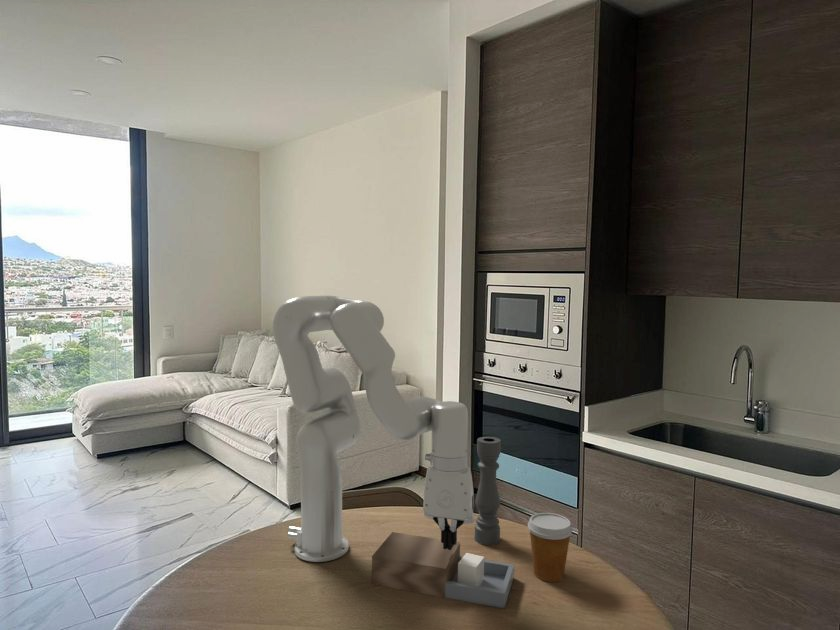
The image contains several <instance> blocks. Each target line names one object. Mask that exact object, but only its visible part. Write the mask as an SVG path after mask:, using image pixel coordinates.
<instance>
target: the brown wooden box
mask: <svg viewBox="0 0 840 630" xmlns="http://www.w3.org/2000/svg"><path fill="white" fill-rule="evenodd" d="M459 556H461V542H459V541H457V542H456V545H454V546H453V547H452V549H451V550H448V549H443V543H441V538H435V537H433V538H432V537H429V536H428V537H426V536H421V535H414V534H408V533H407V534H406V533H401V532H395V531H391V533H390V534H389V535H388V536H387V538H386V539H385V540H384V541H383V543H381V545H379V547H378V548H377V549H376V550H375V552H374V553H373V555H371V584H372V585H375V586H382V587H387V588H393V589H398V590H404V591H409V592H414V593H418V594H419V593H420V594H423V595H430V596H434V597H440V598H445V583H446V581H451V582H452V581H453V579H454V577H455V575H456V573H457V571H458V563H459Z"/></svg>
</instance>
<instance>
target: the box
mask: <svg viewBox="0 0 840 630" xmlns="http://www.w3.org/2000/svg"><path fill="white" fill-rule="evenodd" d="M463 556H464V555H460V556H459V561H460V560H461V559H462V558H463ZM514 579H515V564H514V563H513V564H512V563H508V562H500V561H495V560H489V559H484V580H483V582H482V583H481V585H480V586H474V585H468V584H462V583H458V571H457V573H456V575H455V577H454V579H453V581H452V582H451V581H446V583H445V597H444V598H445V599H451V600H456V601H463V602H467V603H472V604H478V605H484V606H488V607H494V608H499V609H503V610H505V608H506V605H507V602H508V599H509V596H510V592H511V589H512V586H513V582H514Z"/></svg>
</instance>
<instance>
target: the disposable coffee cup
mask: <svg viewBox="0 0 840 630" xmlns="http://www.w3.org/2000/svg"><path fill="white" fill-rule="evenodd" d="M527 528H528V530H529V535H530V544H531V555H532V564H533V565H532V566H533V575H535V577H536V578H537V579H539V580H541V581H545V582H549V583H553V582H555V583H556V582H559V581H562V580H563V579H564V578H565V577H564V575H565V568H566V563H567V557H568V550H569V546H570V545H569V543H570V538H571V535H572V533H573V526H572V524H571V521H570V519H568V518H567V517H566V516H564V515H561V514H558V513H552V512H540V513H535V514H533V515H531V516H530V517H529V521H528V522H527Z"/></svg>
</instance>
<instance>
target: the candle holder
mask: <svg viewBox="0 0 840 630" xmlns="http://www.w3.org/2000/svg"><path fill="white" fill-rule="evenodd" d="M501 445H502V444H501V439H500V438H498V437H495V436H482V437H478V438H477V440H476V451H477V452H476V453H477V456H478V458H479V462H478V463H477V467H478V469H479V470H480V478H479V479H480V480H479V481H480V482H479V483H478V484H479V485H478V489H477V492H476V496H475V499H474V504H475V506H476V507H475V508H476V509H477V510H478V516H477V517H476V519H475V524H474V541H475V542H476V543H477V544H480V545H483V546H495V545H497V544H499V543H500V541H501V526H500V520H499V518H498V517H497V512H498V511H499V509H500V507H501V499H500V494H499V491H498V485H497V471H498V469H499V468H500V463H498V462H497V461H498V460H499V458H500V454H501V448H502V447H501Z"/></svg>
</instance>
